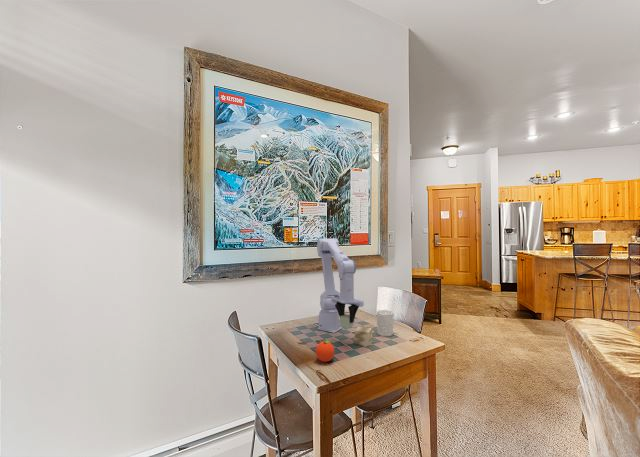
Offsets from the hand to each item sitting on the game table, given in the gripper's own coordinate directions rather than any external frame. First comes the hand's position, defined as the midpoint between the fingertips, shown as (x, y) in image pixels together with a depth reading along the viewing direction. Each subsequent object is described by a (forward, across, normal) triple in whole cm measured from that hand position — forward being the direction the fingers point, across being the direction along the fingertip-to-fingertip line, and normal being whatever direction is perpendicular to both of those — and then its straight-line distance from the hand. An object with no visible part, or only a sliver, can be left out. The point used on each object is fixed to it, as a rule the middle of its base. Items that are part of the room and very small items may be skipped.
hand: (347, 321), depth 123 cm
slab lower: (+10, +5, +5) cm, 12 cm away
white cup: (+10, +9, +20) cm, 24 cm away
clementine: (+10, +1, -18) cm, 20 cm away
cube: (+2, 0, 0) cm, 2 cm away
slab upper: (+7, +5, +5) cm, 10 cm away
